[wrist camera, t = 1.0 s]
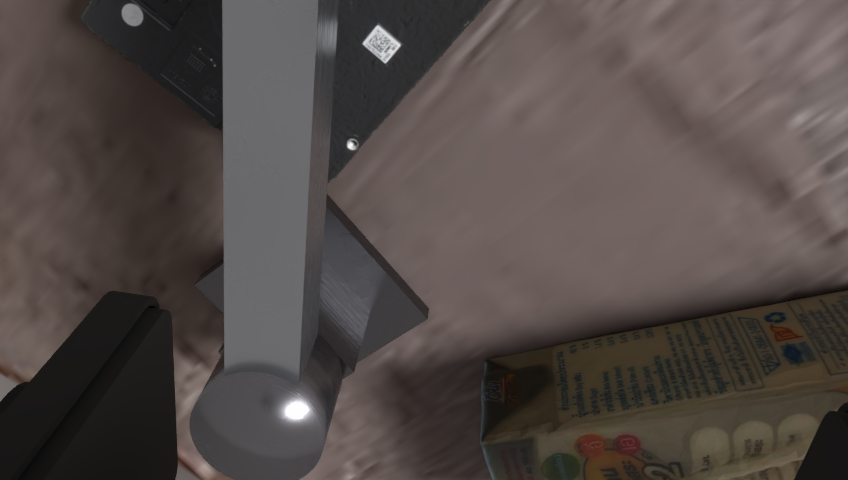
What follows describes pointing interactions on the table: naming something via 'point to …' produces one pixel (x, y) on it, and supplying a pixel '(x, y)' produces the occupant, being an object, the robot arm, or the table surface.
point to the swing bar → (273, 244)
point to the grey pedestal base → (348, 293)
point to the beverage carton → (671, 398)
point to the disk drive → (354, 62)
